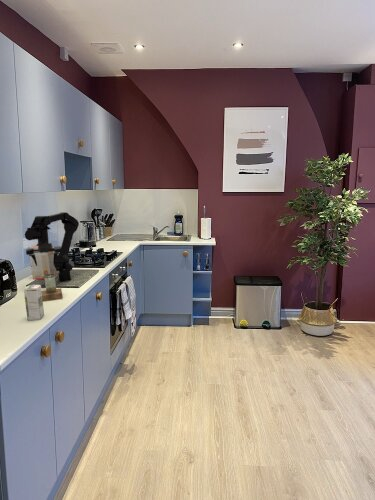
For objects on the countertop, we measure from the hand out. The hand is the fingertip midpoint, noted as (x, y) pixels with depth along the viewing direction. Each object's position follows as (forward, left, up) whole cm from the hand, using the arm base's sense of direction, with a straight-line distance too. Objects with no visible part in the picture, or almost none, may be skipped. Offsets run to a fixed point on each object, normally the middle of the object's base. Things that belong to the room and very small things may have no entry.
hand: (45, 265), depth 216 cm
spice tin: (-2, +23, -10) cm, 25 cm away
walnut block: (-2, +23, -13) cm, 27 cm away
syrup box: (+5, +52, -13) cm, 54 cm away
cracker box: (+2, -22, -13) cm, 26 cm away
